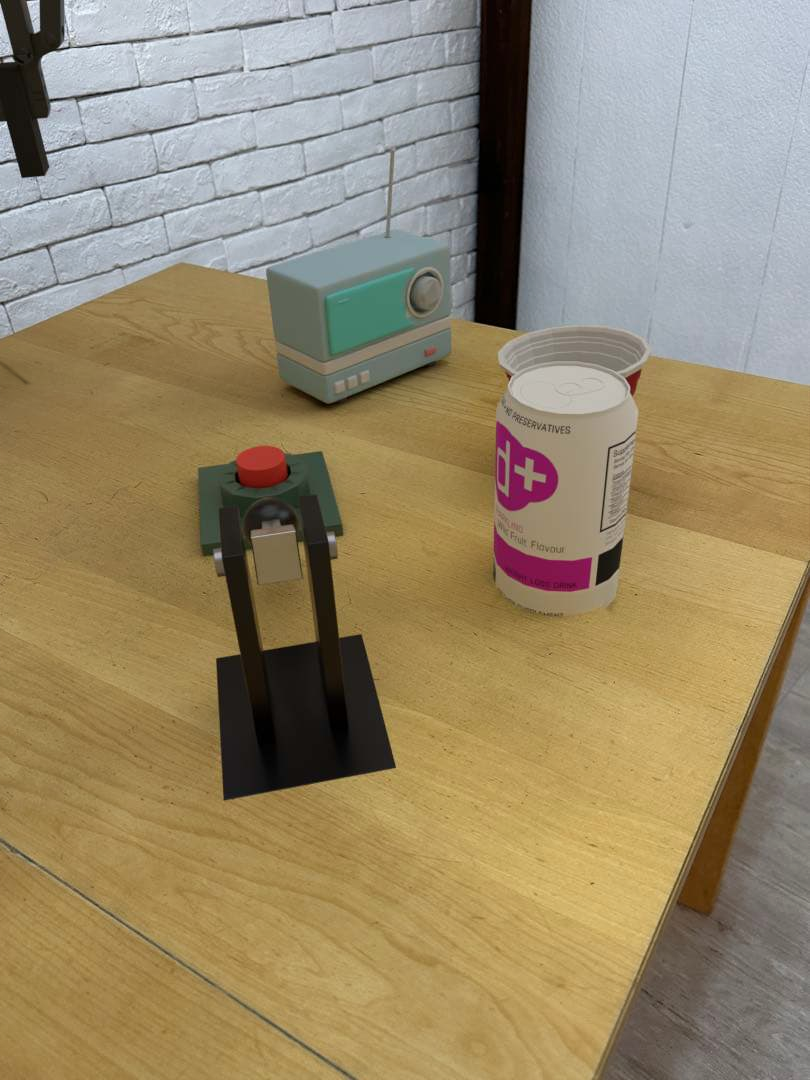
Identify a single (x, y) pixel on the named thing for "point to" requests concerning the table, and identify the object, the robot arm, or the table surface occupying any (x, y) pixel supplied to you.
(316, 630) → the bracket
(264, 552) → the lever
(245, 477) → the button
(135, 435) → the table surface
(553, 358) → the plastic cup
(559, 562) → the supplement can
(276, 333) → the radio
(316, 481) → the button box
